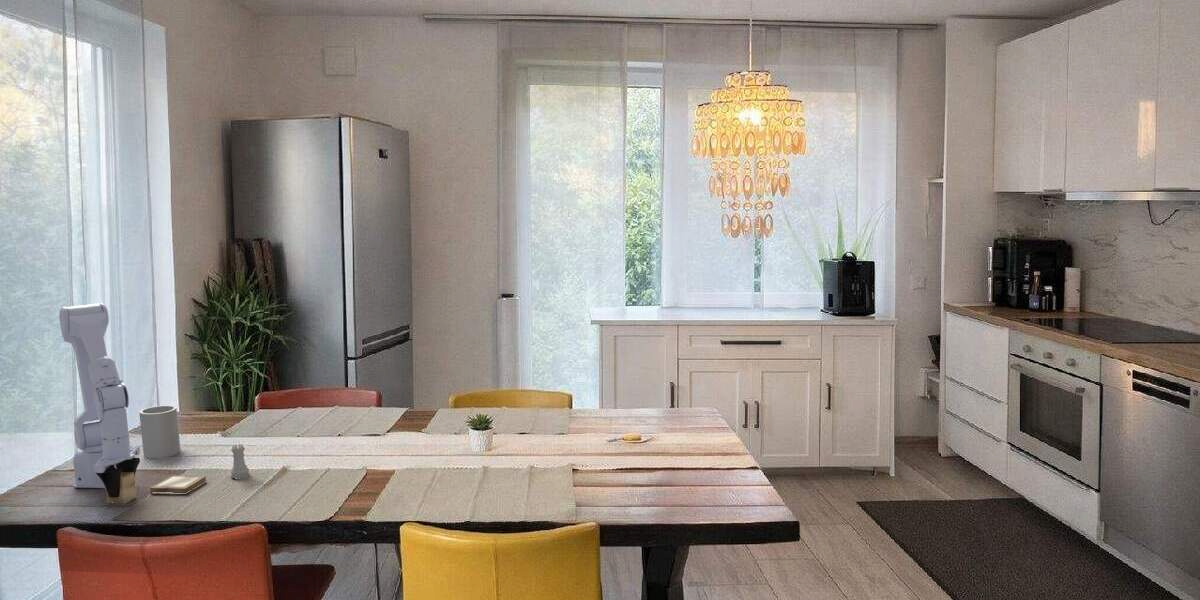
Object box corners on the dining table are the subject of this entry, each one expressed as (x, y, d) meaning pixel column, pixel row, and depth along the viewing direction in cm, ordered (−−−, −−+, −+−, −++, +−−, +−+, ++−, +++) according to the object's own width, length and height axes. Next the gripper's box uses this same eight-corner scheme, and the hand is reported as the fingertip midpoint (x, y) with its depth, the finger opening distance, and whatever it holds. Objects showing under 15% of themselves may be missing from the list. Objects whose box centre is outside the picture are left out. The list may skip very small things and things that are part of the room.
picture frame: (150, 493, 239) (150, 487, 239) (172, 481, 248) (171, 475, 248) (186, 494, 238) (185, 488, 238) (206, 482, 247) (205, 476, 247)
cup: (146, 450, 276) (141, 407, 274) (181, 446, 278) (177, 404, 277) (141, 459, 267) (137, 415, 265) (178, 455, 270) (174, 411, 268)
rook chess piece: (243, 480, 248) (241, 448, 247) (227, 479, 249) (224, 447, 247) (253, 474, 252) (250, 443, 251) (237, 473, 253) (234, 442, 252)
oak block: (106, 503, 234) (104, 478, 233) (118, 496, 238) (116, 471, 237) (124, 503, 233) (122, 478, 232) (136, 496, 238) (133, 472, 237)
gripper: (111, 446, 226) (117, 504, 228) (149, 428, 240) (154, 483, 242) (82, 445, 227) (89, 503, 229) (122, 427, 241) (127, 482, 243)
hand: (121, 493), depth 236 cm, fingers closed on oak block, 4 cm apart
